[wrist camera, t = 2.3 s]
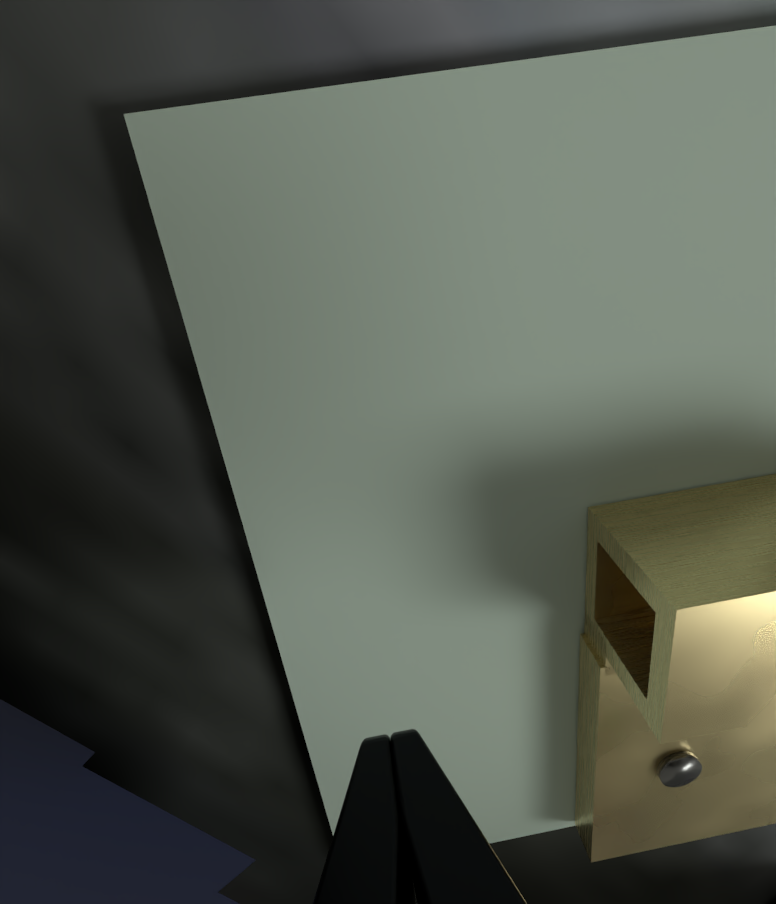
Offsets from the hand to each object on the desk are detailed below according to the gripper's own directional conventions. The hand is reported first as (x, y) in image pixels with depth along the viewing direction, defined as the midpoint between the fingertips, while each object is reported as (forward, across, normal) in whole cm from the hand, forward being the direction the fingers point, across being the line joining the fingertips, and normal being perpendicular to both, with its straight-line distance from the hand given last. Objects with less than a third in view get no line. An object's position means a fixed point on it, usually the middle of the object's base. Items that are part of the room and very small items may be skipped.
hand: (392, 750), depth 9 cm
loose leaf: (+3, -9, +4) cm, 10 cm away
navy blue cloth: (+4, +19, +1) cm, 19 cm away
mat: (+4, -11, 0) cm, 12 cm away
